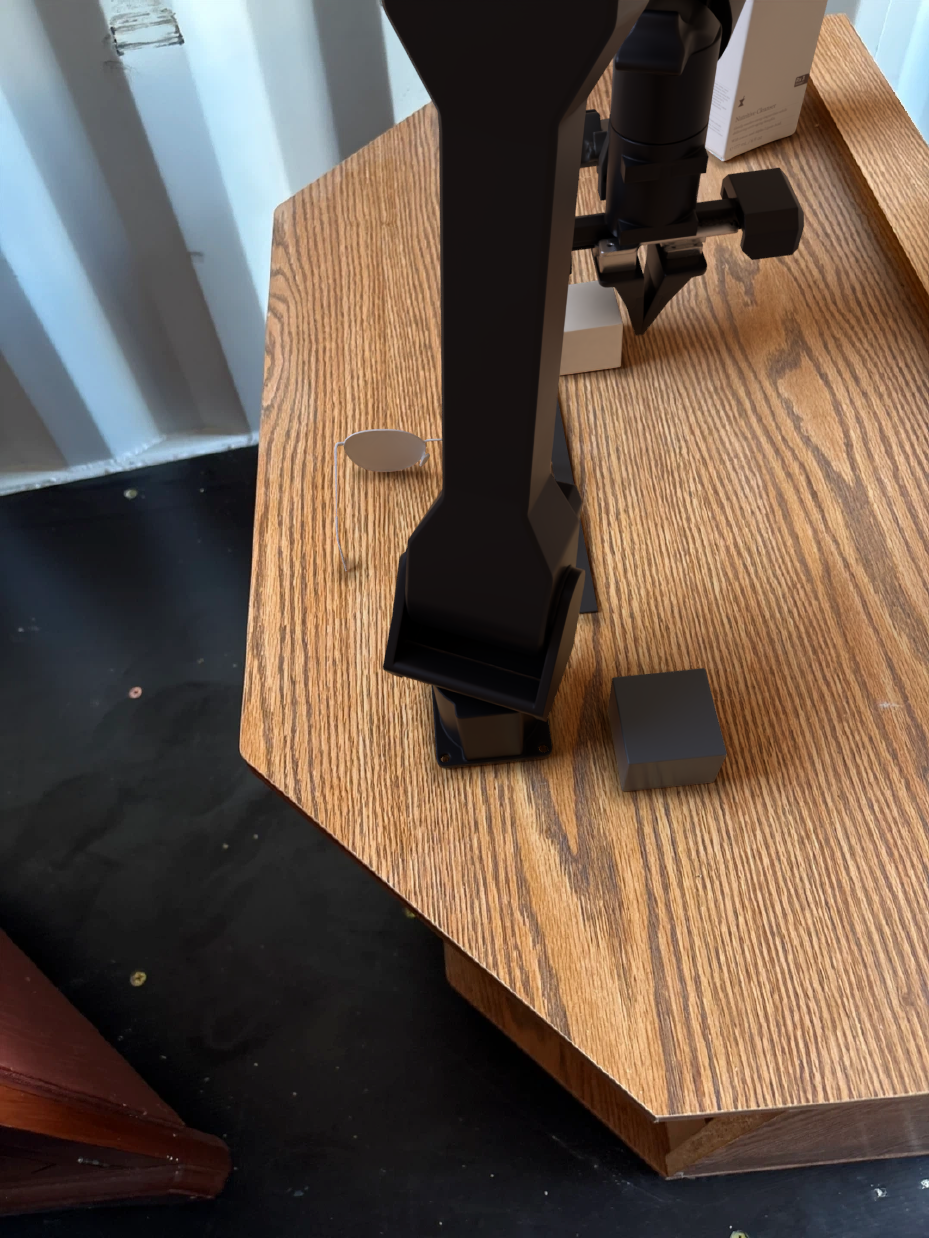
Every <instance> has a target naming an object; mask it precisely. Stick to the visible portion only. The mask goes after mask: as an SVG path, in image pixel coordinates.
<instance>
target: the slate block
mask: <svg viewBox="0 0 929 1238" xmlns="http://www.w3.org/2000/svg"><path fill="white" fill-rule="evenodd" d="M709 681H710V680H709V677H708V673H707V670H706V668H705V667H700V668H690V669H679V670H671V671H669V670H668V671H661V672H649V673H641V674H630V675H622V676H613V677H611V682H610V689H609V695H608V702H607V709H606V711H607V716H608V722H609V728H610V733H611V738H612V743H613V749H614V756H615V760H616V766H617V771H618V776H619V782H620V788H621V789H620V790H621V791H622V792H632V791H643V790H653V789H662V788H663V789H664V788H671V787H673V788H674V787H681V786H683V787H684V786H691V785H703V784H712V783H714V782H715V781H716V778H717V776H718V774H719V773H720V770H721V768H722V766H723V764H724V762H725V760H726V758H727V755H728V752H727V749H726V744H725V741H724V740H725V739H724V736H723V733H722V729H721V724H720V721H719V716H718V712H717V709H716V705H715V701H714V697H713V693H712V688H711V685H710V682H709Z"/></svg>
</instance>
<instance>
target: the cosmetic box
mask: <svg viewBox="0 0 929 1238" xmlns="http://www.w3.org/2000/svg"><path fill="white" fill-rule="evenodd" d="M828 1H829V0H746V2H745V4H744V7H743V9H742V12H741V14H740V17H739V19H738V22H737V24H736V26H735V29H734V31H733V34H732V36H731V39H730V41H729V44H728V46H727V48H726V50H725V51H724V53H723V55H722V57H721V58H720V59H719V61H718V63H717V69H716V76H715V83H714V90H713V96H712V103H711V110H710V116H709V124H708V130H707V137H706V144H705V148H706V151H707V152H710V153H711V154H712V156H714V157H716V158H717V159H719V160H720V161H721V162H725V161H729V160H731V159H733V158H734V157H737V156H739V155H741V154H744V153H746V152H749V151H751V150H754V149H756V148H758V147H761V146H763V145H766V144H768V143H772V142H774V141H777V140H781V139H783V138H786V137H790V136H792V135H794V133H796V130H797V126H798V122H799V119H800V115H801V110H802V106H803V102H804V99H805V94H806V90H807V86H808V83H809V78H810V75H811V70H812V66H813V63H814V59H815V54H816V50H817V46H818V42H819V37H820V34H821V29H822V26H823V22H824V21H823V20H824V17H825V14H826V10H827V5H828Z"/></svg>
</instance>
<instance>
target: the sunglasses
mask: <svg viewBox="0 0 929 1238" xmlns="http://www.w3.org/2000/svg"><path fill="white" fill-rule="evenodd" d="M429 442H442V438H427V439H423V438H422V437H420V436H418V435H417V434H414V433H412V432H411V431H410V432H409V431H407V430H402V429H397V428H396V429H395V428H374V429H372V428H371V429H365V430H360V431H356V432H354V433H352V434H349V436H347V437H346V438H345V439H344V441H338V442H336V443H335V445H334V450H333V455H334V456H333V457H334V459H333V460H334V483H335V484H334V487H335V488H334V489H335V514H336V515H335V518H334V519H335V521H334V522H335V536H336V542H337V546H338V550H339V553H340V557H341V561H342V564H343V568H344V571H345V572H347V571H348V566H347V561H346V559H345V556H344V553H343V550H342V547H341V542H340V535H339V517H338V448H339V447H342V446H343V450H344V453H345V454H346V456H347V457H348V459H349V460H350V461H351V463H353V464H354V465H355V466H357V467H359V468H360V469H362V470H365V471H370V472H377V473H391V472H399V471H404V470H406V469H408V468H411V467H413V466H415V465H417V463H419V467H420V468H422V467H423V466H424V465H425V464H426V463H427V462H428V461H429V459H430V457H431V454H430V453H429V452H427V453H426V450H427V444H426V443H429Z"/></svg>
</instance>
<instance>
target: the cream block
mask: <svg viewBox="0 0 929 1238" xmlns="http://www.w3.org/2000/svg"><path fill="white" fill-rule="evenodd" d="M623 331H624V323H623V317H622V314H621V311H620V307H619V303H618V299H617V296H616V291H615V288H614V287H610V288H605V287H602V286H600V285H599V283H598V279H596V280H590V281H583V282H577V283H571V284H569V285H568V295H567V305H566V315H565V326H564V336H563V346H562V356H561V366H560V376H566V375H572V374H580V373H586V372H594V371H602V370H607V369H608V370H609V369H615V368H620V367H621V366H622V365H621V364H622V352H623V351H622V349H623Z"/></svg>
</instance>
